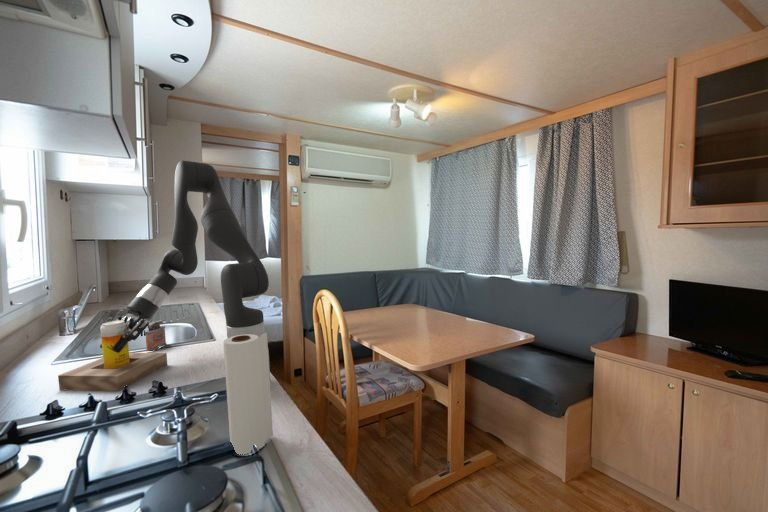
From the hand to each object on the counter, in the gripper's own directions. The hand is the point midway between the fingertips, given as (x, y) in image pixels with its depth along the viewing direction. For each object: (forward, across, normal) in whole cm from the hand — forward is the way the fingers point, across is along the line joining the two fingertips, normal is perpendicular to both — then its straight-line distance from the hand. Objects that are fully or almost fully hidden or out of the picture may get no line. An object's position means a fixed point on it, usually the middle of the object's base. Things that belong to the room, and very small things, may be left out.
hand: (109, 349), depth 102 cm
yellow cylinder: (+4, 0, +6) cm, 8 cm away
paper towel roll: (+12, +65, +1) cm, 66 cm away
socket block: (+5, 0, +7) cm, 9 cm away
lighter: (-9, -16, +22) cm, 29 cm away
